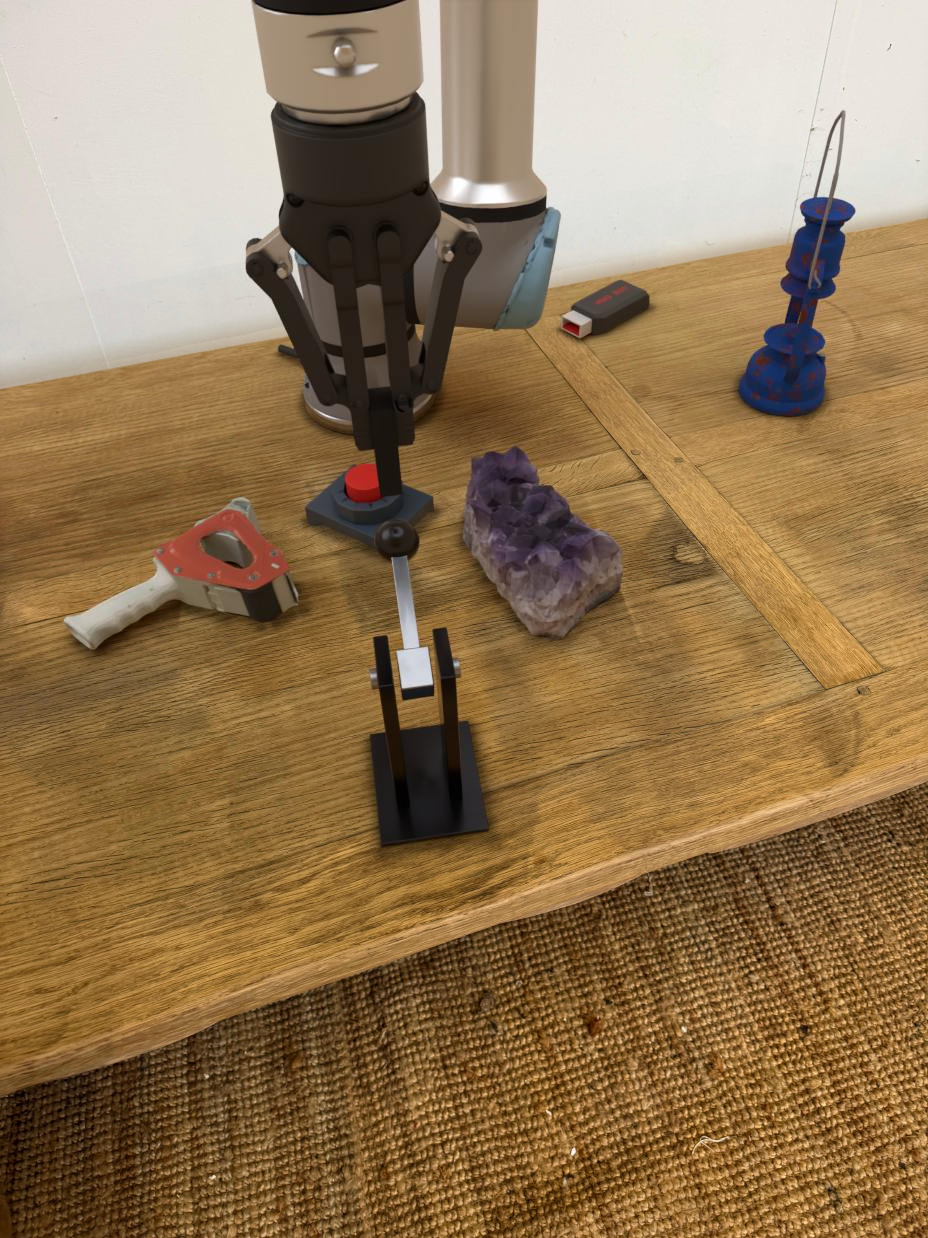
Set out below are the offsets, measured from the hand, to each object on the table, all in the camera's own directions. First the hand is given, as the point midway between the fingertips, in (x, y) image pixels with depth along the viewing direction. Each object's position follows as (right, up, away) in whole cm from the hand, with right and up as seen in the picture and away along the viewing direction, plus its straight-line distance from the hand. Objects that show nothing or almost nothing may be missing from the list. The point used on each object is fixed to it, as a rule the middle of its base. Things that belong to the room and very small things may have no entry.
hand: (389, 482), depth 62 cm
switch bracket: (+2, -22, +11) cm, 25 cm away
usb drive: (+23, +29, +58) cm, 68 cm away
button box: (-4, +1, +32) cm, 33 cm away
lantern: (+41, +17, +45) cm, 63 cm away
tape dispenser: (-20, -7, +26) cm, 33 cm away
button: (-5, +4, +30) cm, 30 cm away
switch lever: (+1, -9, +4) cm, 10 cm away
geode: (+11, -4, +27) cm, 29 cm away
